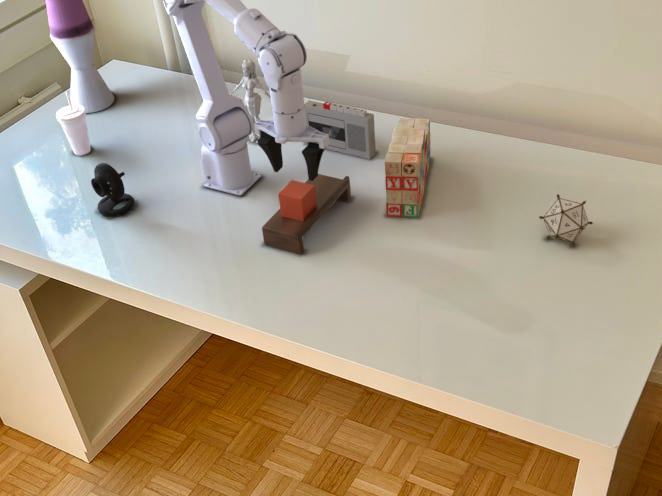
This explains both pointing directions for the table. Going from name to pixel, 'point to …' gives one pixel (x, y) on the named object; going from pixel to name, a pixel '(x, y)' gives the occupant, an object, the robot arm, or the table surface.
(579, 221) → the game die
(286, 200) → the block
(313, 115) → the cassette player
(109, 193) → the webcam
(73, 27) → the lamp
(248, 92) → the human figurine
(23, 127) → the table surface
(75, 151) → the smoothie
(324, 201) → the shelf
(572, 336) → the table surface
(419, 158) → the stack of blocks
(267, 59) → the robot arm
